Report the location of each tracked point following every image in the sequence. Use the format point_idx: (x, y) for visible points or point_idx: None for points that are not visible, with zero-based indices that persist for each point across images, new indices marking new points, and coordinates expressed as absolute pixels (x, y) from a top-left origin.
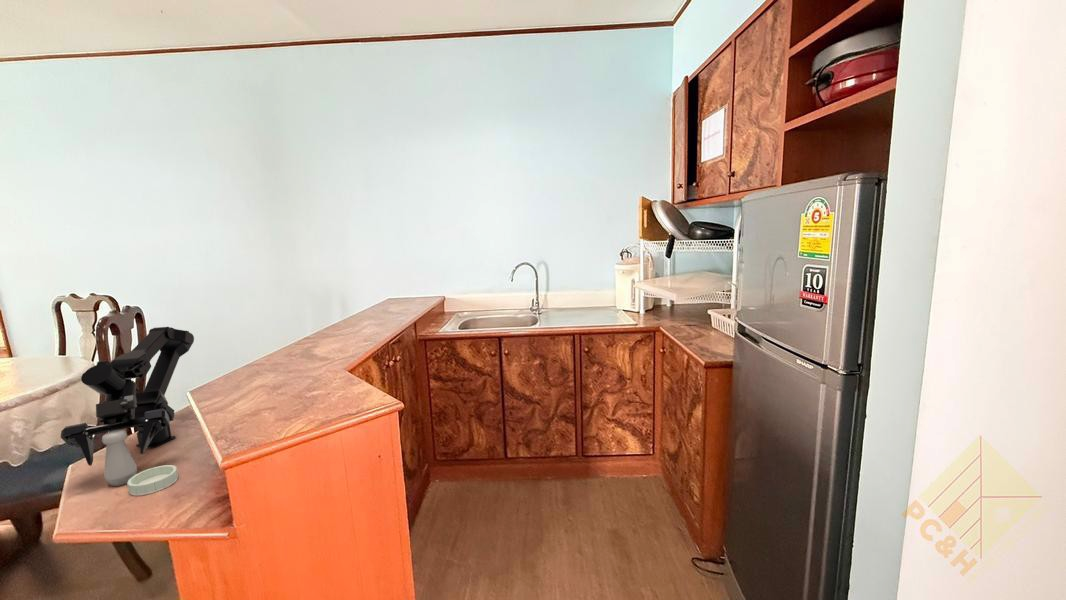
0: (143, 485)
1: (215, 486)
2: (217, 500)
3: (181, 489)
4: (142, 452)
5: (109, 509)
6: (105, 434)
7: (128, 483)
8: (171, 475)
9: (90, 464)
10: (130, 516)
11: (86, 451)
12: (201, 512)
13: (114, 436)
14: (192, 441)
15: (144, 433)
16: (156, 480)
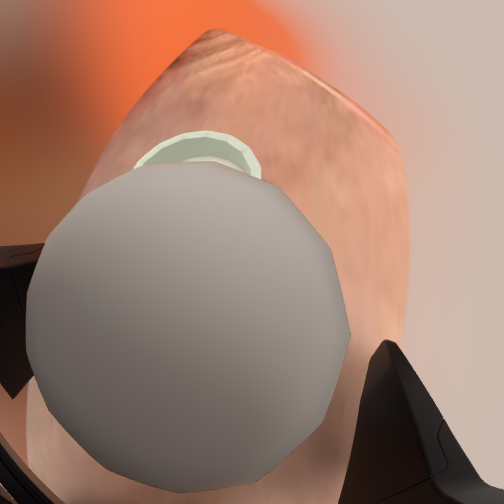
0: (233, 137)
1: (145, 97)
2: (176, 62)
3: (177, 125)
4: None
5: (321, 159)
6: (286, 341)
7: None
8: (160, 146)
9: (380, 345)
10: (289, 98)
11: (423, 411)
12: (208, 51)
13: (193, 164)
14: (36, 435)
15: (22, 255)
16: (199, 136)
